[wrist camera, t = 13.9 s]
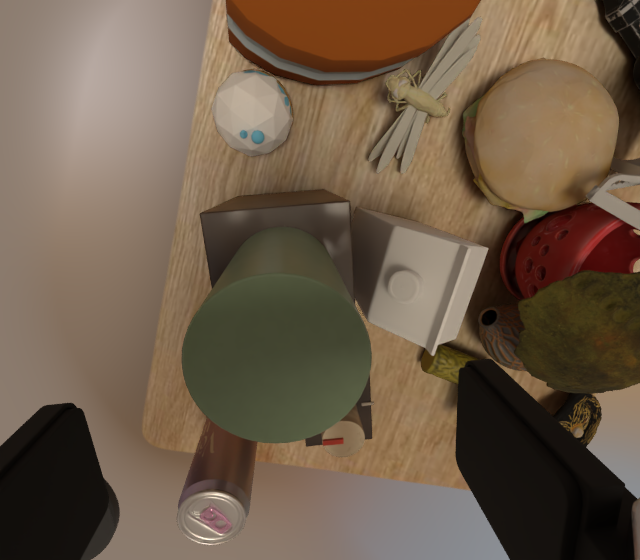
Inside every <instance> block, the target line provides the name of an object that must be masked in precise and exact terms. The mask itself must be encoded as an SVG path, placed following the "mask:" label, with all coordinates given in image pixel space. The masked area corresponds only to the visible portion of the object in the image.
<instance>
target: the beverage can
mask: <svg viewBox="0 0 640 560" xmlns="http://www.w3.org/2000/svg"><path fill="white" fill-rule="evenodd" d="M256 449H257V441H252V440H248V439H244V438H241V437H239V436H236V435H234V434H231V433H230V432H228V431H226V430H224V429H222V428H221V427H219V426H218V425H217V424H215V423H214V422H212V421H211V420H210V419H209V418H208V417H207V419H206V422H205V425H204V428H203V431H202V434H201V437H200V440H199V443H198V446H197V449H196V452H195V455H194V458H193V461H192V464H191V467H190V470H189V473H188V476H187V479H186V482H185V485H184V488H183V491H182V494H181V497H180V500H179V504H178V514H177V523H178V526H179V529H180V530H181V532H182V533H183V534H184V535H185V536H186V537H187V538H189V539H190V540H192V541H194V542H196V543H200V544H204V545H218V544H222V543H226V542H228V541H230V540H232V539H234V538H235V537H236V536H237V535H238V534H239V533H240V532H241V531H242V529H243V527H244V525H245V521H246V518H247V516H248V513H249V508H250V500H251V491H252V483H253V475H254V466H255V458H256Z"/></svg>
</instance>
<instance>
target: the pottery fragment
mask: <svg viewBox="0 0 640 560" xmlns="http://www.w3.org/2000/svg"><path fill="white" fill-rule="evenodd" d="M518 309H519V312H520V319H521V320H522V321H523V326H524V327H525V329H524V330H520V332H519V344H518V346H517V347H516V348H515V350H514V354H515V355H516V356H517V357H518V358H519V359H520V360H521V361H522V363H523V366H524V367H525V368H526V369H527V371H528V372H529V373H530V374H531V376H534V377H535V378H538V379H540V380H542V381H545V382H547V384H546V385H547V386H548V387H550V388H552V389H556V390H561V391H564V392H570V393H586V394H592V393H604V392H606V391H613V390H620V389H624V388H627V387H630V386H632V385H635V384H638V383H640V272H637V273H636V272H635V273H630V274H623V273H614V272H598V271H591V270H583V271H580V272H578V273H576V274H574V275H572V276H568V277H566V278H564V279H563V280H557V281H555V282H553V283H550V284H549V285H548V286H545V287H543V288H540V289H538V291H537V293H536V294H535V295H534V296H532V297H530V298H526V299H522V300H520V301H519V302H518Z"/></svg>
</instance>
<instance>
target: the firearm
mask: <svg viewBox="0 0 640 560" xmlns="http://www.w3.org/2000/svg"><path fill="white" fill-rule="evenodd" d="M603 3H604V6H605V18H606V19H607V21H608V22H609V24H610V25H611V27H612V28H613V30H614V31H615V33H616V32H619V34H620V35H621V37H622V38H623V40H624V41H625V43H626V44H627V46H628V47H629V49H630V50H631V52H632V53H633V55H634V56H635V58H636V59H637V60H636V62H635V65H634V69H633V78H634V81H635V83H636V85H637V86H638V88H639V89H640V0H603Z"/></svg>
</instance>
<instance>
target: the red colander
mask: <svg viewBox="0 0 640 560" xmlns="http://www.w3.org/2000/svg"><path fill="white" fill-rule="evenodd" d="M626 203H627V204H629V205H631V206H633V207H634V208H636V209H638V210H640V203H630V202H626ZM633 229H636V230H639V229H637V228H635V227H634V226H632V225H630V224H628V223H627V222H625V221H623V220H621V219H620V218H618V217H616V216H615V215H613V214H611V213H609V212H608V211H606V210H604V209H602V208H601V207H599V206H597V205H596V204H594V203H587V204H581V205H573V206H570V207H568V208H566V209H563V210H559V211H553V212H548V213H546V214H545V215H543V216H542V217H539V218H536V219H533V220H532V221H529V222H527V223H524V217H522V218H521V219H520V220H519V221H518V222H517V223H516V224H515V225H514V227H513V228H512V229H511V231H510V232H509V234H508V236H507V238H506V240H505V242H504V244H503V247H502V251H501V255H500V272H501V277H502V280H503V282H504V284H505V286H506V288H507V289H508V290H509V291H510V293H511V294H512V295H513V296H514V297H516V298H517V299H518V300H522V299H526V298H530V297H532V296H534V295H535V294H536V293H537V291H538V289H540V288H543V287H545V286H548V285H549V284H550V283H553V282H555V281H557V280H563V279H564V278H566V277H568V276H572V275H574V274H576V273H578V272H580V271H583V270H591V271H598V272H614V273H623V274H630V273H633V266H634V264H635V262H636V261H637V260H638V259H640V235H637V234H636V233H634V232H633ZM639 231H640V230H639Z"/></svg>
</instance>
